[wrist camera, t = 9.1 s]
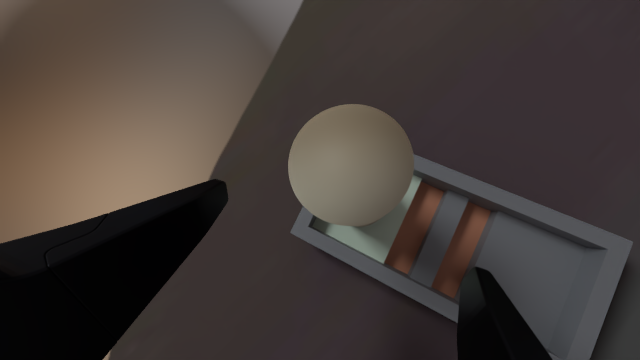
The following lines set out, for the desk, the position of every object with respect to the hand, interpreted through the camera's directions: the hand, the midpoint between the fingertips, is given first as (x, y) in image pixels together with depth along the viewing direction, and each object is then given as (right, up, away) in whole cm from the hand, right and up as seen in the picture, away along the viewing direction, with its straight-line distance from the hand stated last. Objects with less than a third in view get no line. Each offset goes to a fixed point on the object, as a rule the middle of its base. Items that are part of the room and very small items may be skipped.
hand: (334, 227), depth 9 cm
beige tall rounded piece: (+3, 0, +11) cm, 11 cm away
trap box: (+8, -3, +11) cm, 14 cm away
